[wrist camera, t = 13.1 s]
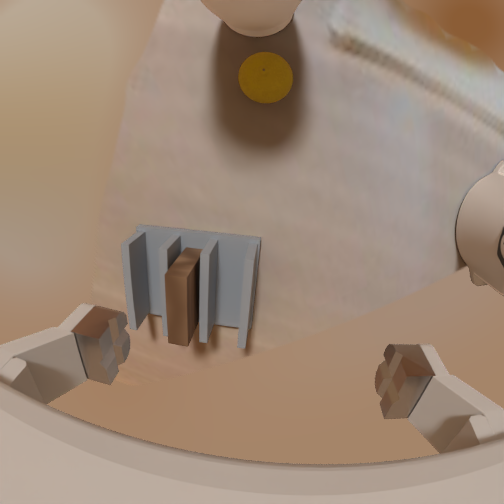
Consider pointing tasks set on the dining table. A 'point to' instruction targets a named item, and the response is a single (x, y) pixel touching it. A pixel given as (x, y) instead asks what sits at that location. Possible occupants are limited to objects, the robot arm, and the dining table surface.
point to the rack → (211, 276)
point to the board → (183, 296)
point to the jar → (254, 15)
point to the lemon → (265, 77)
